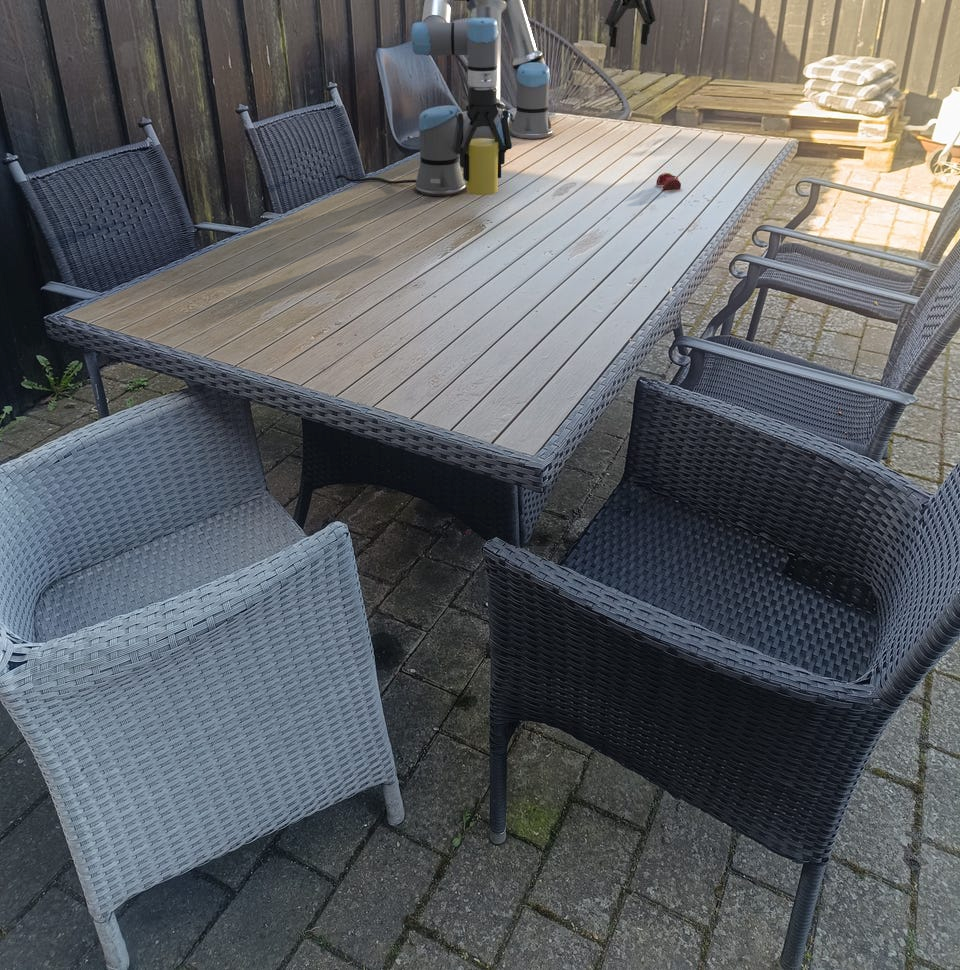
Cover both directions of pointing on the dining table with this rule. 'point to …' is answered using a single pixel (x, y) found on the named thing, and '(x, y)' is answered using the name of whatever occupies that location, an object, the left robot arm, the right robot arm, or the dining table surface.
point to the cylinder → (483, 166)
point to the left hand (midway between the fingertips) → (482, 178)
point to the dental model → (668, 182)
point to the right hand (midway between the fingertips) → (628, 45)
